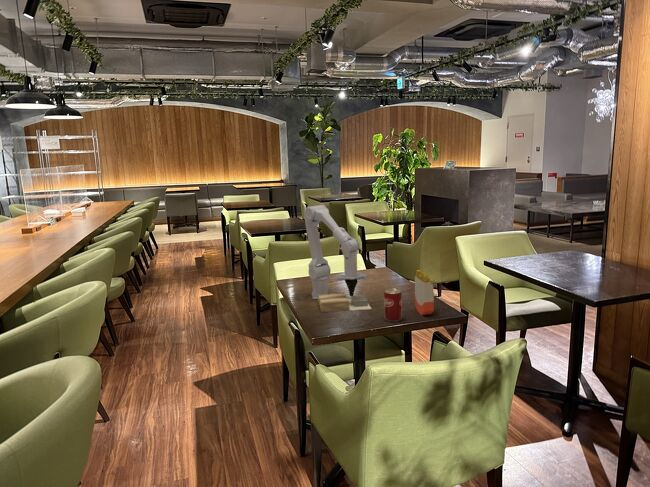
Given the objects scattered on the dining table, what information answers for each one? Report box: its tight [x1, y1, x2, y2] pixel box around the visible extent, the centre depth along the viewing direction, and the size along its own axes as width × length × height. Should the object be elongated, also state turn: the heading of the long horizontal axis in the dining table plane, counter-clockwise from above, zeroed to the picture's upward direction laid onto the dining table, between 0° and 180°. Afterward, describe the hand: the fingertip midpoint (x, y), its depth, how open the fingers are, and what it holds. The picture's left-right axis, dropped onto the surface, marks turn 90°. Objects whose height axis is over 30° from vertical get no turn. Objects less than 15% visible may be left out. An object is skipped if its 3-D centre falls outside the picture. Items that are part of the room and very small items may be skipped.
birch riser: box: [317, 292, 350, 313], centre depth 220 cm, size 14×12×4 cm
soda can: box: [383, 288, 403, 323], centre depth 200 cm, size 7×7×12 cm
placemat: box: [347, 298, 372, 312], centre depth 222 cm, size 16×10×1 cm, turn 7°
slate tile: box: [350, 294, 369, 307], centre depth 221 cm, size 9×6×2 cm, turn 7°
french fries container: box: [414, 269, 435, 316], centre depth 206 cm, size 5×11×18 cm, turn 11°
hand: (351, 295), depth 220 cm, fingers closed
